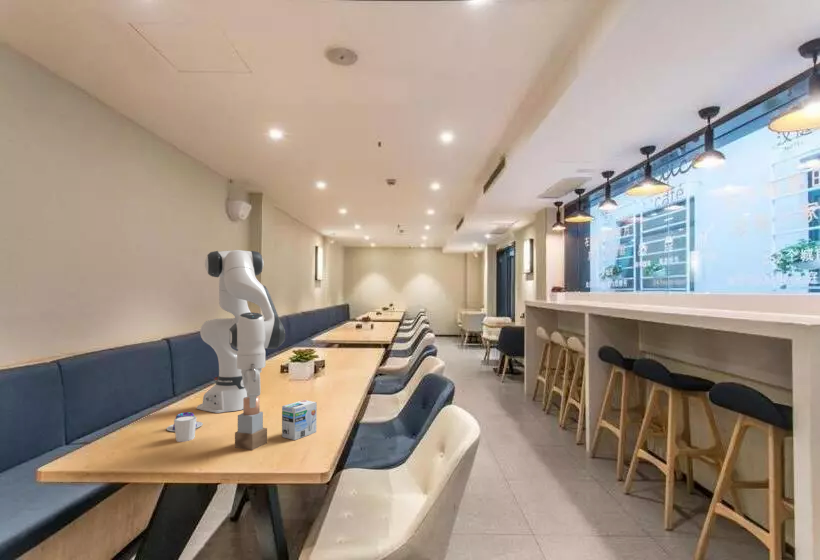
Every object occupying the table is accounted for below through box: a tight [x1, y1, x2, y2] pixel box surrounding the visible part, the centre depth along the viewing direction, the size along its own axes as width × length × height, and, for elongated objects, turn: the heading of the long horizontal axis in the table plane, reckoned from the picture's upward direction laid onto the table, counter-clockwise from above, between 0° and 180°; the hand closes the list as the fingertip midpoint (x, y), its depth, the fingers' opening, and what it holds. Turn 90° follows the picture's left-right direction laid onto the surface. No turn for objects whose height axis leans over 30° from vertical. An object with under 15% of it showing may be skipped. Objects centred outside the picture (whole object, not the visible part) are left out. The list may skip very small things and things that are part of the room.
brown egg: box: [242, 395, 261, 415], centre depth 141 cm, size 5×5×5 cm
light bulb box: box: [281, 399, 318, 441], centre depth 151 cm, size 11×7×11 cm, turn 148°
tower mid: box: [237, 411, 264, 434], centre depth 141 cm, size 6×6×6 cm
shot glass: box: [173, 415, 198, 443], centre depth 148 cm, size 7×7×7 cm
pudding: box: [166, 411, 204, 432], centre depth 161 cm, size 12×12×5 cm
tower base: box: [234, 427, 268, 451], centre depth 141 cm, size 7×7×5 cm
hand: (251, 404), depth 141 cm, fingers open, 6 cm apart
